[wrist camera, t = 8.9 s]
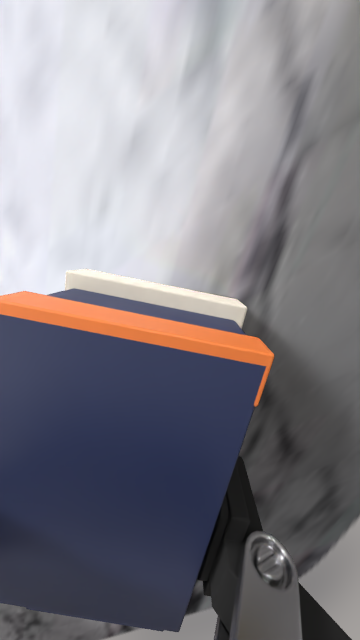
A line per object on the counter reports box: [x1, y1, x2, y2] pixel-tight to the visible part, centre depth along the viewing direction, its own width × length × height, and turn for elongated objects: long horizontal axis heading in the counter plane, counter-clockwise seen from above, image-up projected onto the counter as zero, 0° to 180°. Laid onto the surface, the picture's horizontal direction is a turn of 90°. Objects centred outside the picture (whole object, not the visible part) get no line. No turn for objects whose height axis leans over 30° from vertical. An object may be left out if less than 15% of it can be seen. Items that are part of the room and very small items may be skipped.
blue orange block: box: [0, 269, 274, 632], centre depth 8 cm, size 13×6×5 cm, turn 169°
